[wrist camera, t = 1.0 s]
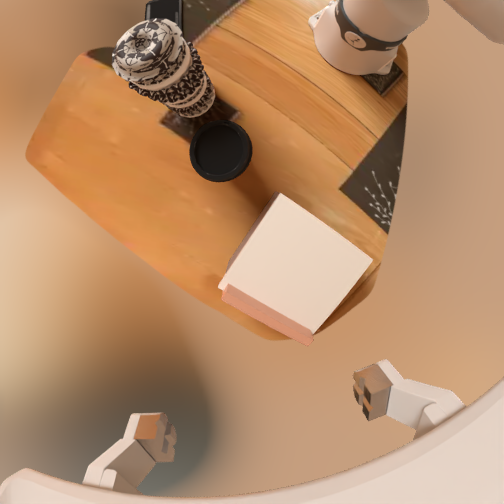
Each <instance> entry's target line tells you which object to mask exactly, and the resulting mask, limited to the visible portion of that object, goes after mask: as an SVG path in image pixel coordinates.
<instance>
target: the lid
mask: <svg viewBox="0 0 504 504" xmlns="http://www.w3.org/2000/svg"><path fill="white" fill-rule="evenodd" d="M372 261H373V259H372V258H370V257H369V256H368V255H367V254H365V253H364V252H363V251H361V250H360V249H359V248H357V247H356V246H355V245H353V244H352V243H351V242H349V241H348V240H347V239H345V238H344V237H343V236H341V235H340V234H339V233H337V232H336V231H335V230H333V229H332V228H331V227H329V226H328V225H326V224H325V223H324V222H322V221H321V220H319V219H318V218H317V217H315V216H314V215H312V214H311V213H309V212H308V211H307V210H305V209H304V208H302V207H301V206H299V205H298V204H296V203H295V202H294V201H292V200H291V199H289V198H288V197H286V196H285V195H283V194H282V193H280V194H279V195H278V197H277V198H276V199H275V201H274V202H273V204H272V205H271V207H270V208H269V210H268V211H267V213H266V214H265V216H264V217H263V219H262V220H261V222H260V223H259V225H258V226H257V228H256V229H255V231H254V232H253V234H252V235H251V237H250V238H249V240H248V241H247V243H246V244H245V246H244V247H243V249H242V250H241V252H240V253H239V255H238V256H237V258H236V259H235V261H234V262H233V264H232V265H231V267H230V268H229V270H228V271H227V273H226V274H225V276H224V277H223V279H222V280H221V282H220V283H219V285H218V288H220V289H221V290H223V294H222V298H221V300H223V301H224V302H226V303H228V304H230V305H231V306H233V307H235V308H237V309H238V310H240V311H242V312H244V313H246V314H247V315H249V316H251V317H253V318H255V319H256V320H258V321H260V322H262V323H264V324H266V325H267V326H269V327H271V328H273V329H275V330H277V331H279V332H281V333H283V334H284V335H286V336H288V337H290V338H292V339H294V340H296V341H298V342H300V343H302V344H304V345H306V346H309V345H310V344H311V343H312V341H313V336H312V335H313V334H314V333H315V332H316V330H317V329H318V328H319V327H320V326H321V325H322V324H323V322H324V321H325V320H326V319H327V318H328V317H329V315H330V314H331V313H332V312H333V311H334V309H335V308H336V307H337V306H338V305H339V303H340V302H341V301H342V300H343V298H344V297H345V296H346V295H347V293H348V292H349V291H350V290H351V288H352V287H353V286H354V285H355V283H356V282H357V281H358V279H359V278H360V277H361V276H362V274H363V273H364V272H365V270H366V269H367V268H368V266H369V265H370V264H371V262H372Z"/></svg>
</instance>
